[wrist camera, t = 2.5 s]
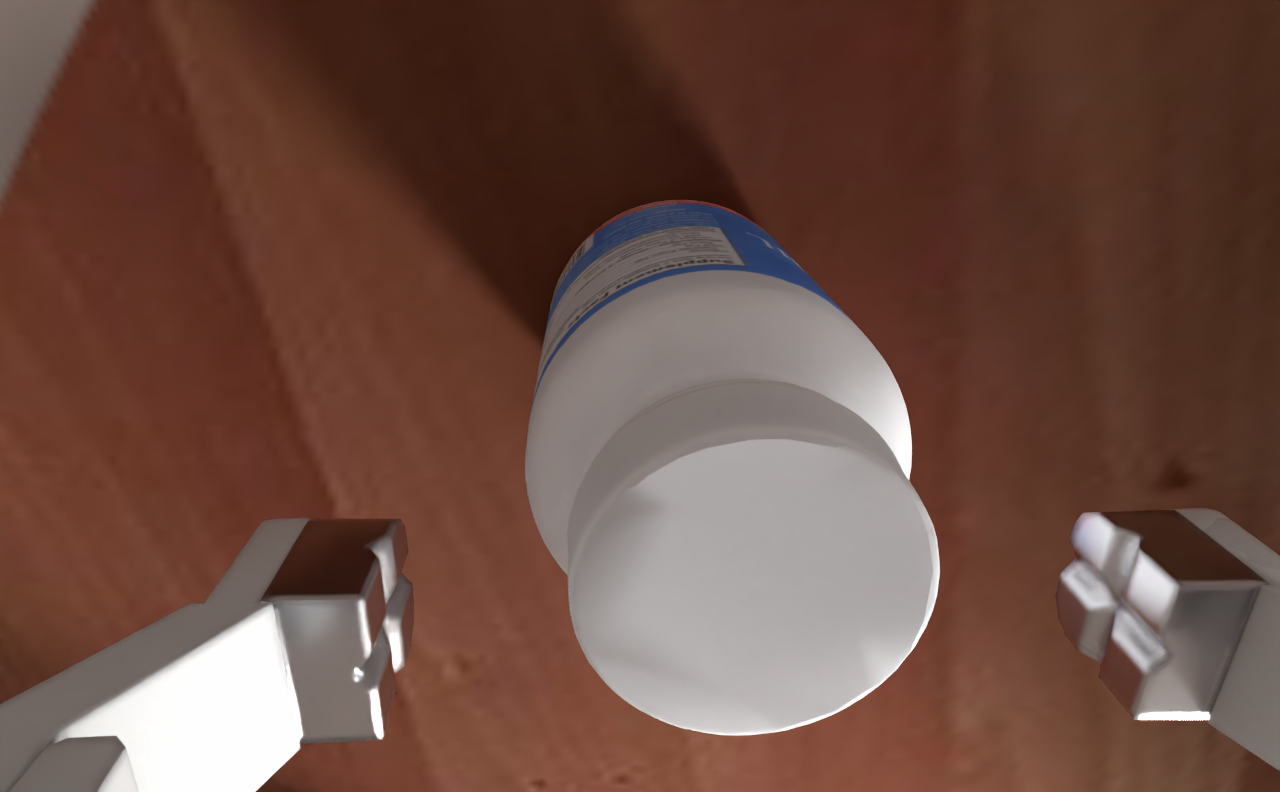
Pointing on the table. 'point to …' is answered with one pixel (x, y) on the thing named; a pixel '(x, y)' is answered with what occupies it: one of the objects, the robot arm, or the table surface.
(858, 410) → the pill bottle
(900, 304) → the table surface
